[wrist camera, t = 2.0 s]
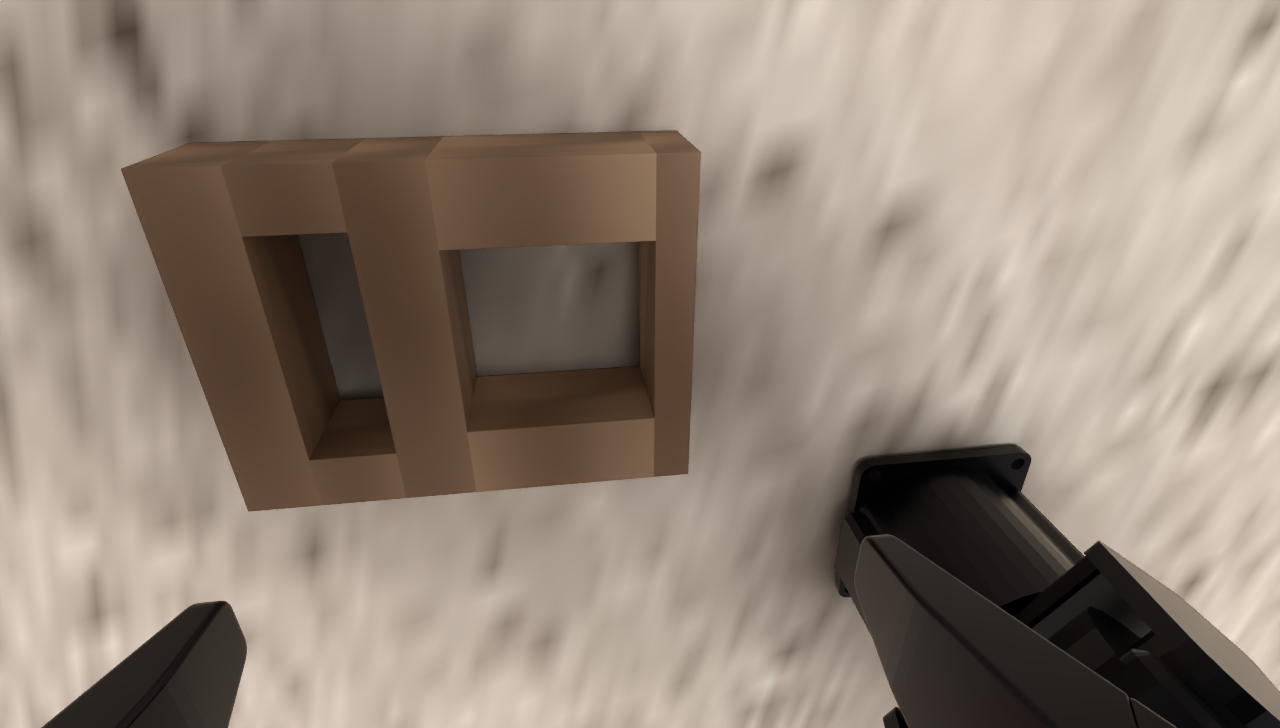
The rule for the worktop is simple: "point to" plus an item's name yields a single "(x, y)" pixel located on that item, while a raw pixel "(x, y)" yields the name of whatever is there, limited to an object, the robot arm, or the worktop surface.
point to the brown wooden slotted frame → (421, 307)
